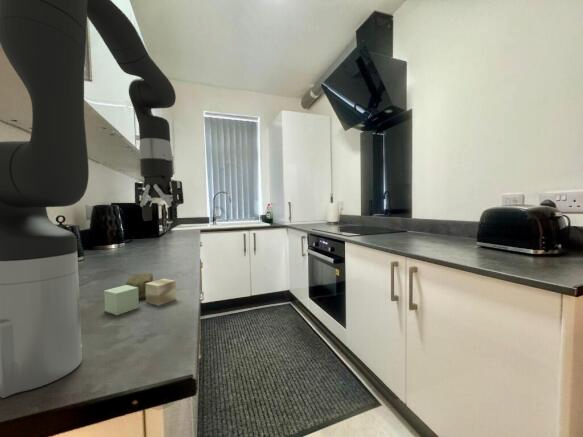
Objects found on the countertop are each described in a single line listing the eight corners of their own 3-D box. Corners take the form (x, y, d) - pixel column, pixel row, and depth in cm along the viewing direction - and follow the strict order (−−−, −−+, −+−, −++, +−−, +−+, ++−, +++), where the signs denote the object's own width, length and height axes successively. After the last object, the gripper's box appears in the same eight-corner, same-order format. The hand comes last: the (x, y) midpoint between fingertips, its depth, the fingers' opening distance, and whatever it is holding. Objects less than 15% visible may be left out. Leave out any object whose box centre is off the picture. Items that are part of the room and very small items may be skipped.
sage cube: (116, 315, 58) (115, 293, 58) (105, 311, 61) (104, 290, 60) (138, 308, 63) (138, 287, 62) (127, 304, 65) (126, 284, 65)
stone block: (124, 302, 67) (124, 283, 67) (131, 290, 77) (130, 273, 77) (150, 298, 69) (149, 280, 69) (153, 287, 80) (152, 271, 80)
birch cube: (158, 306, 64) (157, 285, 64) (146, 302, 66) (145, 283, 66) (175, 299, 68) (175, 280, 68) (163, 296, 70) (163, 278, 70)
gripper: (123, 158, 66) (127, 221, 67) (166, 154, 61) (169, 222, 63) (148, 162, 73) (151, 219, 74) (188, 159, 68) (191, 220, 70)
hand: (159, 221), depth 68 cm, fingers open, 8 cm apart
